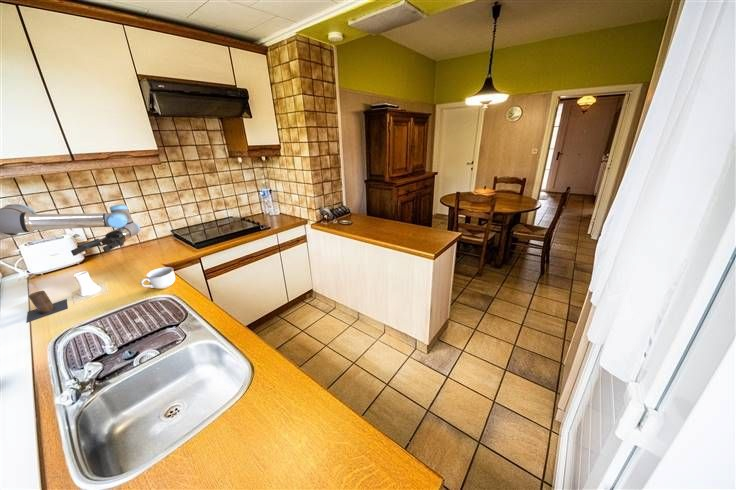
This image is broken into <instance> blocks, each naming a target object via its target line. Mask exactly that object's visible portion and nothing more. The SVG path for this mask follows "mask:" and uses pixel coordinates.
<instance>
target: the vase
mask: <svg viewBox="0 0 736 490" xmlns="http://www.w3.org/2000/svg"><path fill="white" fill-rule="evenodd" d="M73 278H74V279H75V280H76V282H77V284H78V287H79V290H80V292H79V294H80V296H87V295H91V294H94V293H96V292H98V291H99V290H101V288H100V286H97V285H96V284H97V283H95V282H94V281H93V280H92V278H91V277H90V275H89V271H80V272H78V273H75V274H74V275H73Z"/></svg>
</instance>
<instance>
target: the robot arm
mask: <svg viewBox="0 0 736 490" xmlns="http://www.w3.org/2000/svg"><path fill="white" fill-rule="evenodd" d="M109 211H110V212H92V213H91V212H89V213H87V212H86V213H85V212H84V213H83V212H82V213H37V212H36V210H35V209H34V208H32V207H30V206H29V205H26V204H20V203H12V204H6V205H5V206H3V207H1V208H0V242H2V241H3V240H5V239H6V238H8V237H15V236H17V235H18V234H23V233H24V234H25V233H34V232H35V231H43V230H45V231H47V230H71V229H89V228H90V229H92V228H93V229H94V228H113V230H111V231H109V232H107V233H106V234H105V236H104V237H102V238H95V239H93V240H89V241H87V242H84V243H81V244H80V243H79V244H78V245H76V248H73V249H71V250H70V252H71V254H72V256H73V257H75V256H78V255H79V254H82V253H85V251H86V250H89V249H93V248H97V247H102V250H103V252H104V253H108V252H110V251H111V250H113V249H115V248H118V247H123V246H124V245H125V242H126V241H127V240H129V239H130V238H132V237H134V236H136V235H138V234H139V233H140V232H141V226H140V225H139V224H138V223H136V222H134V220H133V218H132V215H131V212H130V210H129V207H128V205H126V204H121V203H120V204H114V205H111V206H109Z"/></svg>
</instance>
